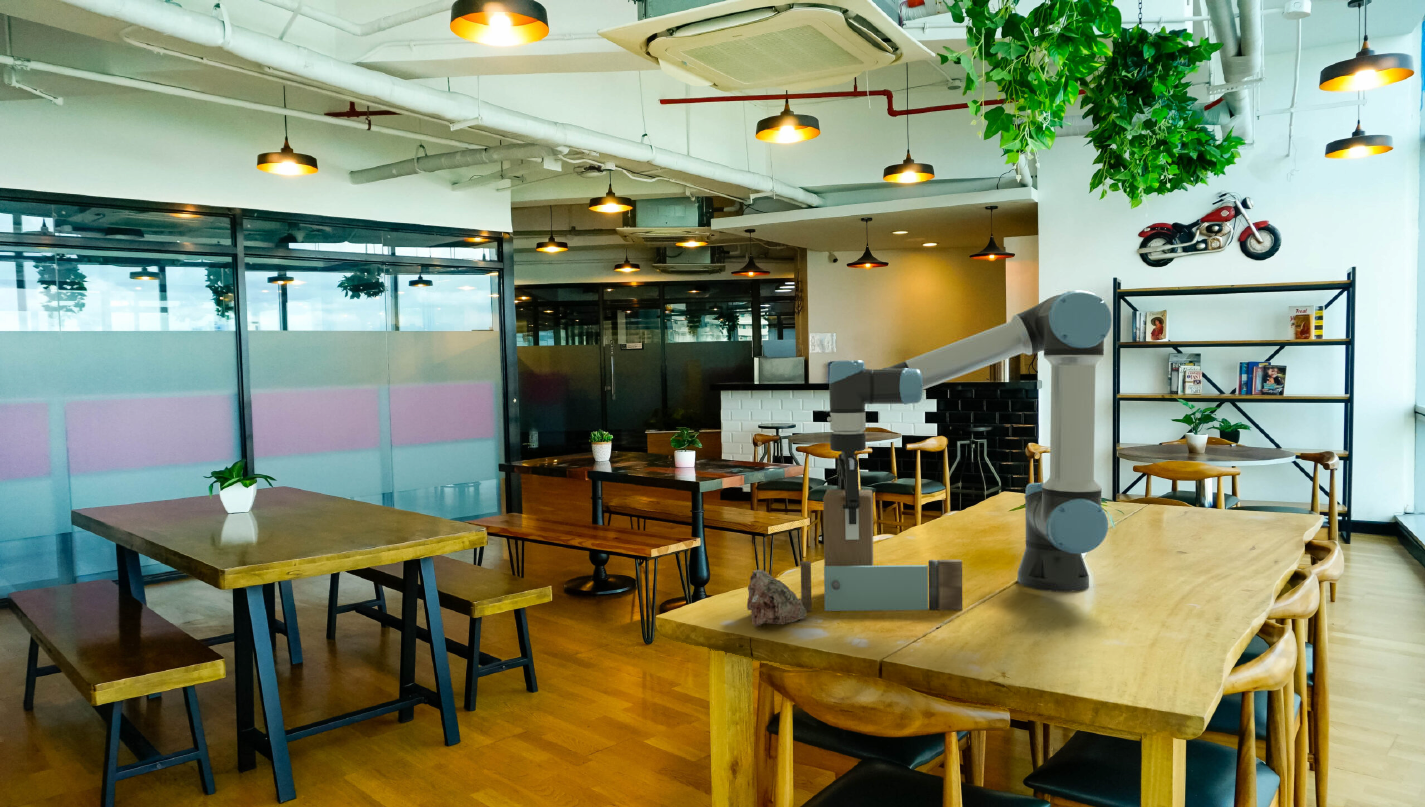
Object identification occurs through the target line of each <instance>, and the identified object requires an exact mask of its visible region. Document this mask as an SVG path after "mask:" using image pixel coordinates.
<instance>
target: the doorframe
mask: <svg viewBox="0 0 1425 807" xmlns="http://www.w3.org/2000/svg"><path fill="white" fill-rule="evenodd" d="M811 562H812V561H810V560H806V561H805V560H801V561H800V600H801V602H802V605H803V606H804V608H805V609H806V612H812V610H813V609H812V563H811ZM938 610H939V611H963V560H961V559H929V560H928V611H938Z"/></svg>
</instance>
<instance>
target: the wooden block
mask: <svg viewBox="0 0 1425 807" xmlns="http://www.w3.org/2000/svg"><path fill="white" fill-rule="evenodd" d="M873 498H874V497H873V490H872V489H859V502H860V506H859V507H858V509H859V539H855V540H846V536H845V509H843V505H846V497H845V490H839V488H838V489H836V488H835V489H830V488H829V489H827V490H826V491H825V494H824V496H823V554H824V555H823V556H824V557H823V558H824V559H823V560H824V561H823V562H824V563H823V564H824V565H823V567H824V566H874V518H873V517H874V513H873V512H874V510H873V509H874V508H873V507H874V506H873Z"/></svg>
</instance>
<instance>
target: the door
mask: <svg viewBox="0 0 1425 807" xmlns="http://www.w3.org/2000/svg"><path fill="white" fill-rule="evenodd" d="M823 579H824V580H823V587H824V591H823V592H824V596H823V597H824V611H825V612H828V611H829V612H831V611H832V612H834V611H835V612H836V611H837V612H838V611H840V612H843V611H847V612H848V611H850V612H851V611H852V612H853V611H854V612H855V611H860V612H861V611H929V565H927V564H919V565H918V564H915V565H913V564H912V565H911V564H907V565H906V564H905V565H904V564H903V565H900V564H899V565H897V564H895V565H894V564H891V565H889V564H888V565H873V566H824V565H823Z"/></svg>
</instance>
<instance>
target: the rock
mask: <svg viewBox="0 0 1425 807" xmlns="http://www.w3.org/2000/svg"><path fill="white" fill-rule="evenodd" d="M751 573H752V574H751V576H750V578H749V581H750V582H749V583H750V584H749V585H748V586H747V592H748V598H747V604H746V608H747V611H751V621H752V626H755V628H757V627H759V626H761V625H763V624H771V625H772V624H775V625H785V624H789V623H795V622H797V621H799V620H798V619H800V620H803V619H805V618H806V617H807V612H808V611H806V609H805V608H804V606H803V605H802V602H801V599H799V598H798V596H797V595H796V593H795V592H794V591H792V590H791V589H790V588H789V587H788V586H787V585H786V584H785V583H783V581H781V580H779V579H776V578H775V577H774V576H771V575H770V574H769V573H768V572H767V571H765V570H763V569H757V570H753V571H752V572H751Z"/></svg>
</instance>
